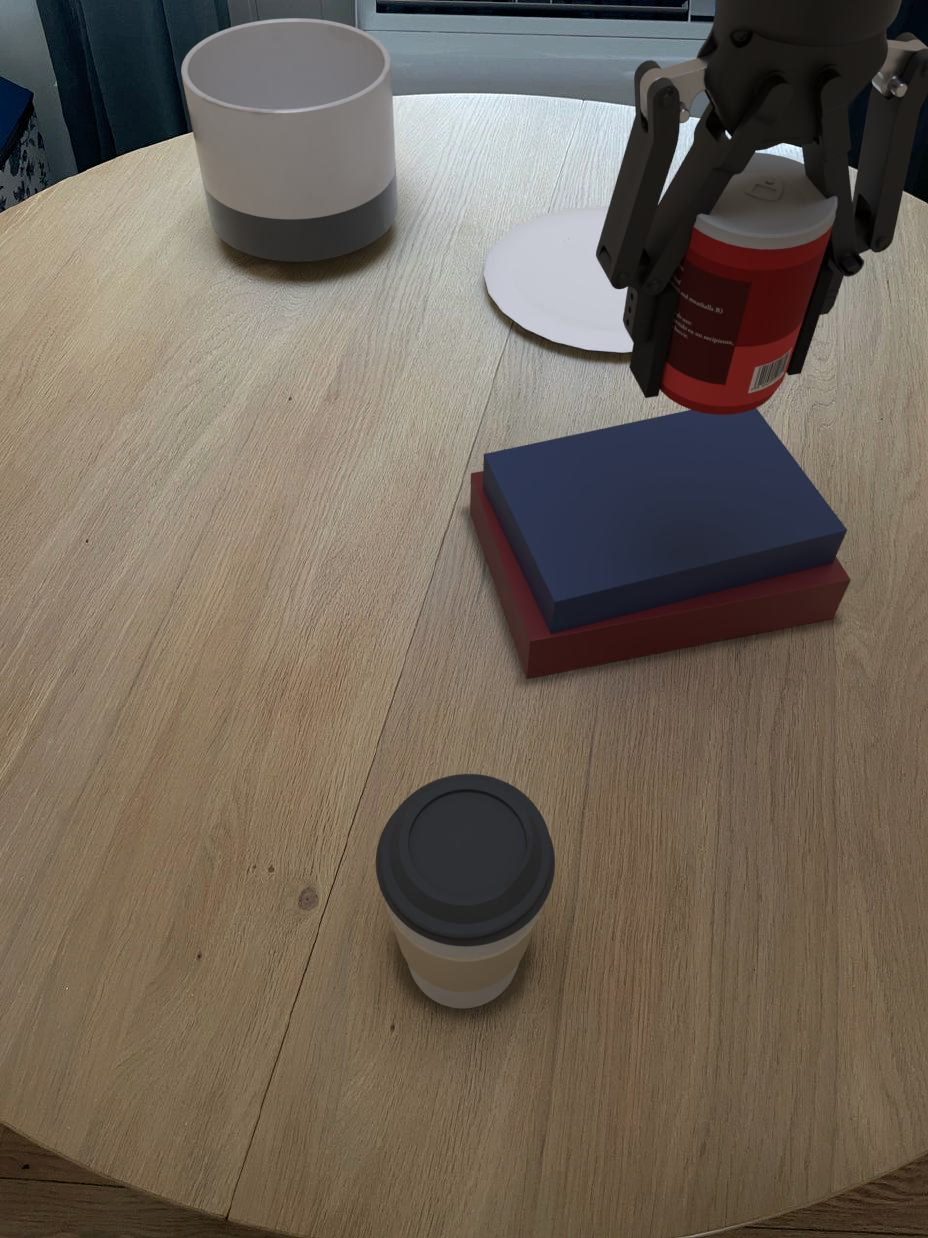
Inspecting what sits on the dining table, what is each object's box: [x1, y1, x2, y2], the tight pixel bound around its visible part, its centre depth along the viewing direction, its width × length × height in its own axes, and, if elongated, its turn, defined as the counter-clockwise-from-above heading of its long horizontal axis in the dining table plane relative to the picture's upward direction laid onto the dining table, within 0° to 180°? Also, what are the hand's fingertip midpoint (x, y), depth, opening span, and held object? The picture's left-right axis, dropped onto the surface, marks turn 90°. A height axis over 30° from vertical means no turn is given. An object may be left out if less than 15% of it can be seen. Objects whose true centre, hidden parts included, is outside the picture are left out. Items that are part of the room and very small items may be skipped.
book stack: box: [469, 407, 852, 680], centre depth 78 cm, size 17×24×8 cm
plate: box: [483, 205, 633, 355], centre depth 104 cm, size 25×25×2 cm
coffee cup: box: [375, 773, 556, 1010], centre depth 56 cm, size 9×9×15 cm
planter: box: [180, 17, 399, 263], centre depth 103 cm, size 19×19×18 cm
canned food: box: [659, 151, 837, 415], centre depth 55 cm, size 8×8×11 cm
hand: (715, 370), depth 59 cm, fingers closed on canned food, 8 cm apart
